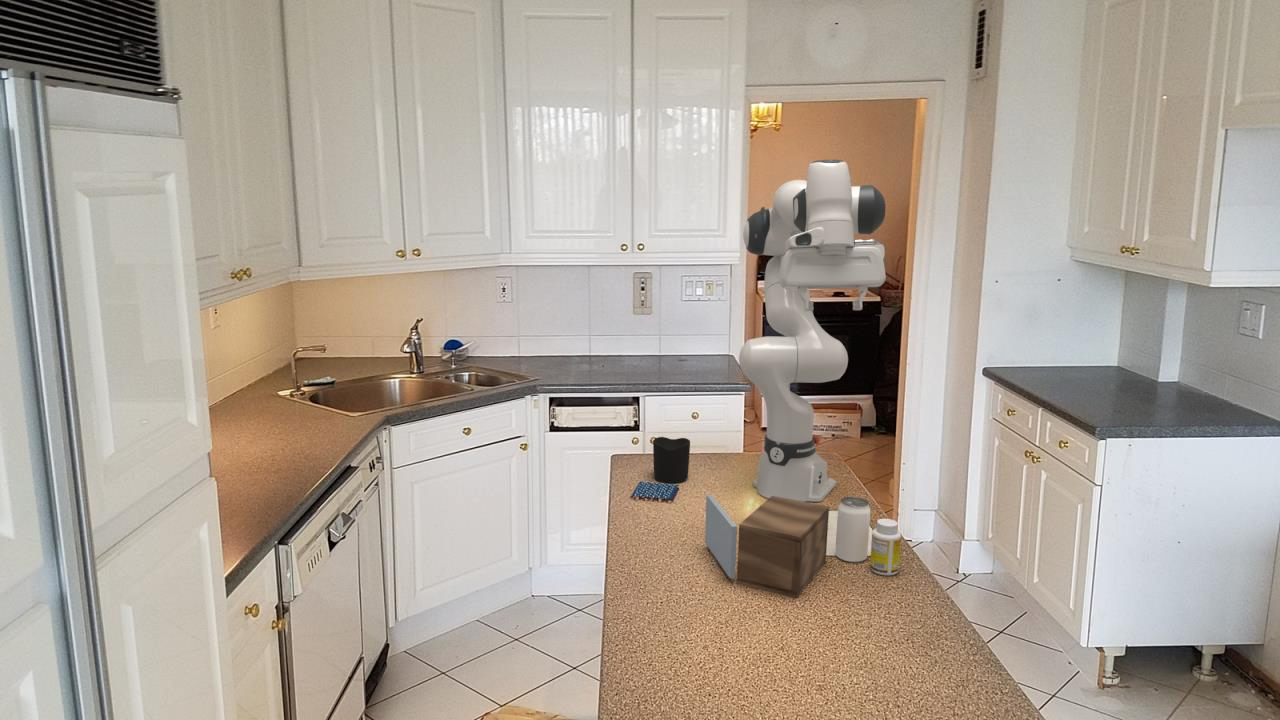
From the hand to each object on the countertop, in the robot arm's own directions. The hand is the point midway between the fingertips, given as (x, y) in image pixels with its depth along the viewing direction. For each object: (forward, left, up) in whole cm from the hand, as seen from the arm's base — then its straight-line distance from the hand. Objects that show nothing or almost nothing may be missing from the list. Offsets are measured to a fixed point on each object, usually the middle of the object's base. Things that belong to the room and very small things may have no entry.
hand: (833, 310), depth 176 cm
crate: (+12, -2, -51) cm, 52 cm away
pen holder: (-19, -52, -51) cm, 75 cm away
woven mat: (-7, -48, -52) cm, 71 cm away
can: (-4, +5, -51) cm, 52 cm away
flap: (+17, -14, -50) cm, 54 cm away
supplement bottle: (-2, +13, -51) cm, 53 cm away
